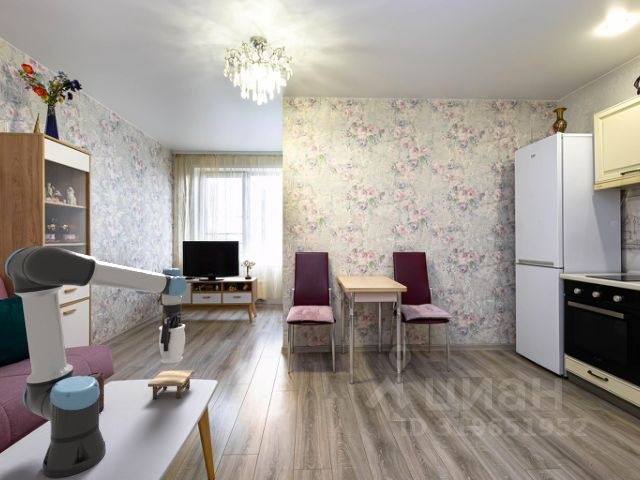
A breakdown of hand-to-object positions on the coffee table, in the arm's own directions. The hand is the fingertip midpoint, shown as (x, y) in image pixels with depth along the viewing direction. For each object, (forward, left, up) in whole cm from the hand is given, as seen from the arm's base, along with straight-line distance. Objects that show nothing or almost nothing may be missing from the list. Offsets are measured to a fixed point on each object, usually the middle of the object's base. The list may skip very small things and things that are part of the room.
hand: (172, 354), depth 143 cm
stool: (0, 0, -17) cm, 17 cm away
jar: (0, 0, -3) cm, 3 cm away
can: (-14, +24, -17) cm, 33 cm away
